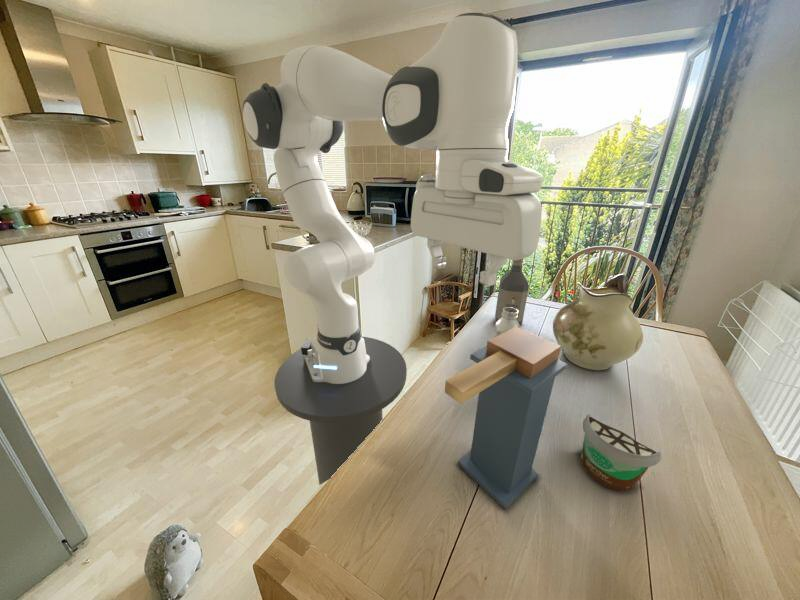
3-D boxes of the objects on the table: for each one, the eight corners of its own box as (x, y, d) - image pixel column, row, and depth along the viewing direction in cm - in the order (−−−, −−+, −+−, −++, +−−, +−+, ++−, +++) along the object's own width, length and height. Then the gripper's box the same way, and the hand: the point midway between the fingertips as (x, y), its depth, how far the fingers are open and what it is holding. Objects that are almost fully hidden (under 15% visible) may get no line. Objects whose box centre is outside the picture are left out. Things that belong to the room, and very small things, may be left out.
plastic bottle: (509, 384, 83) (521, 318, 75) (484, 375, 87) (493, 311, 78) (515, 371, 88) (527, 308, 80) (491, 364, 92) (500, 302, 83)
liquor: (522, 330, 110) (537, 247, 98) (495, 327, 112) (507, 245, 100) (519, 318, 118) (533, 241, 106) (494, 315, 120) (505, 239, 108)
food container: (562, 463, 61) (573, 425, 57) (575, 446, 65) (587, 410, 61) (634, 512, 53) (654, 472, 49) (645, 490, 56) (665, 451, 52)
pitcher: (558, 376, 86) (579, 294, 76) (538, 334, 108) (553, 265, 97) (647, 386, 83) (682, 301, 73) (609, 340, 104) (632, 269, 94)
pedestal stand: (457, 464, 61) (470, 353, 51) (489, 439, 67) (507, 335, 56) (505, 509, 53) (532, 389, 43) (537, 477, 59) (567, 363, 48)
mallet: (431, 382, 44) (432, 368, 43) (514, 338, 55) (516, 326, 54) (476, 416, 38) (478, 400, 37) (558, 359, 49) (561, 345, 48)
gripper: (401, 173, 46) (401, 262, 52) (526, 178, 31) (507, 302, 37) (432, 172, 50) (429, 256, 55) (557, 176, 35) (535, 290, 41)
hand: (461, 275), depth 46 cm, fingers open, 8 cm apart
